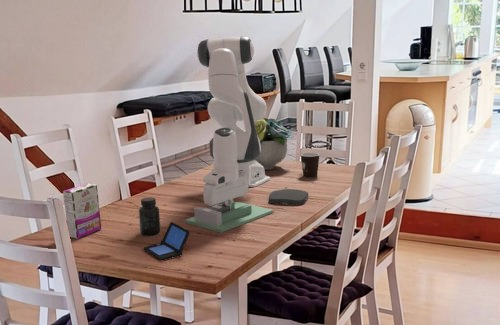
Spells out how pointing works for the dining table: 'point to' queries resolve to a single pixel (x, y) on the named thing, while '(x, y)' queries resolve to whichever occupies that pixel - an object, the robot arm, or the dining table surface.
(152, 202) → the supplement bottle
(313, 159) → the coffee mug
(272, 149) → the flower arrangement
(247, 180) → the robot arm
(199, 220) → the board
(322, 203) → the dining table surface
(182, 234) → the handheld game console
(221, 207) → the labelled grey storage bin
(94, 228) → the candy bar box
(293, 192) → the media streaming box
